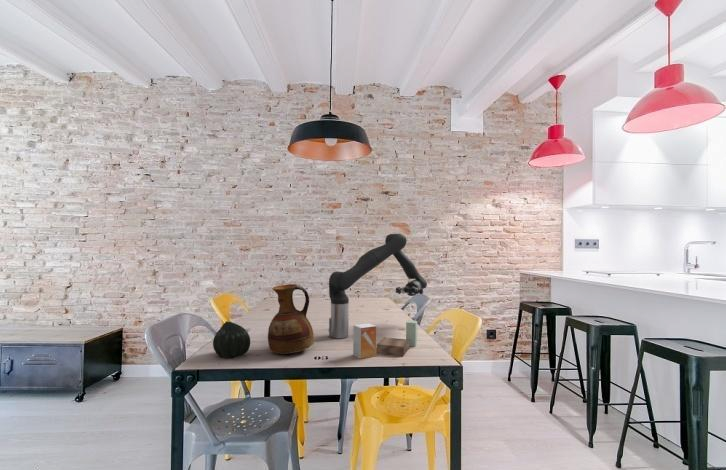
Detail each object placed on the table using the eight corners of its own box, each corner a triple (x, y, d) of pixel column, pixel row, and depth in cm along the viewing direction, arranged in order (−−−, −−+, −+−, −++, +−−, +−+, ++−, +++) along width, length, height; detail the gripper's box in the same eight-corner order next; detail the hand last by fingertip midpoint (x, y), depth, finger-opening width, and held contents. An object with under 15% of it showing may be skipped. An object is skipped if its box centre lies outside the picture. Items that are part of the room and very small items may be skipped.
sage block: (406, 345, 173) (406, 322, 174) (408, 343, 178) (408, 320, 178) (415, 346, 172) (415, 323, 172) (417, 344, 176) (417, 321, 176)
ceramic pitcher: (264, 347, 169) (265, 282, 170) (307, 342, 177) (308, 280, 178) (271, 360, 151) (272, 287, 152) (319, 354, 159) (319, 285, 160)
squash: (254, 345, 153) (248, 314, 161) (216, 352, 145) (212, 319, 154) (249, 361, 162) (243, 330, 171) (213, 368, 155) (209, 336, 163)
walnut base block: (376, 353, 162) (376, 344, 162) (384, 345, 173) (384, 337, 173) (403, 356, 158) (403, 346, 158) (409, 348, 169) (409, 339, 169)
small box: (360, 359, 153) (360, 328, 154) (352, 355, 159) (352, 325, 159) (376, 356, 158) (376, 325, 158) (368, 352, 163) (368, 322, 163)
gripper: (400, 281, 207) (393, 284, 192) (425, 282, 203) (420, 285, 188) (400, 294, 207) (393, 298, 192) (425, 295, 203) (420, 300, 187)
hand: (407, 292), depth 190 cm, fingers open, 8 cm apart
